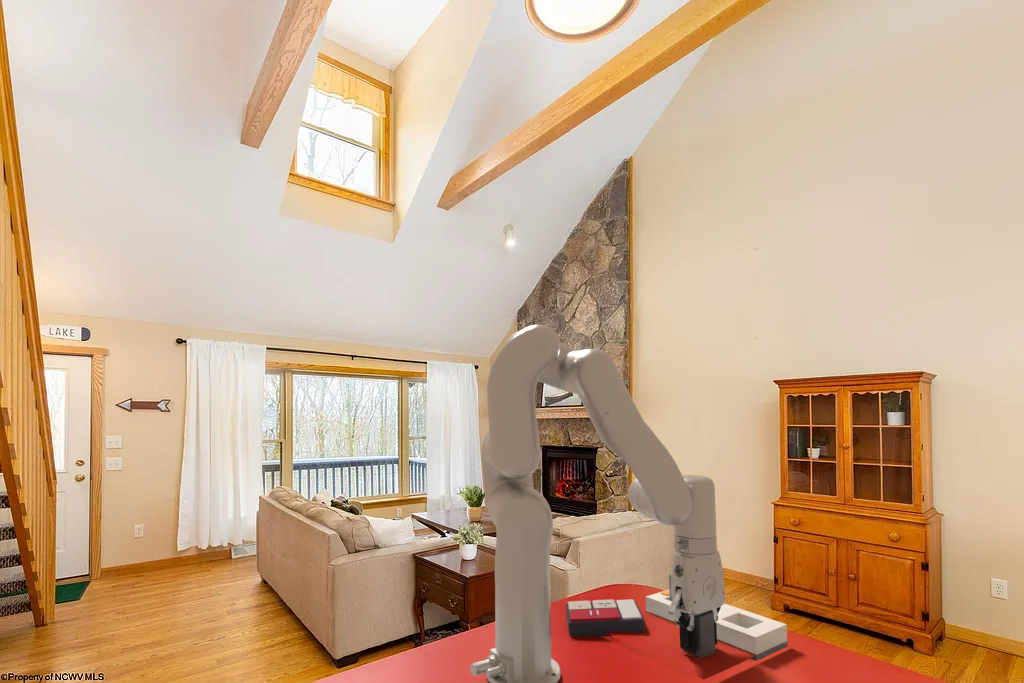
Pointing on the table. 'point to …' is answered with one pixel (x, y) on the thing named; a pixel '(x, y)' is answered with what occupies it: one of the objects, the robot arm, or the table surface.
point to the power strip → (734, 627)
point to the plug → (704, 634)
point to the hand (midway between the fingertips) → (698, 645)
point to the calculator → (603, 617)
